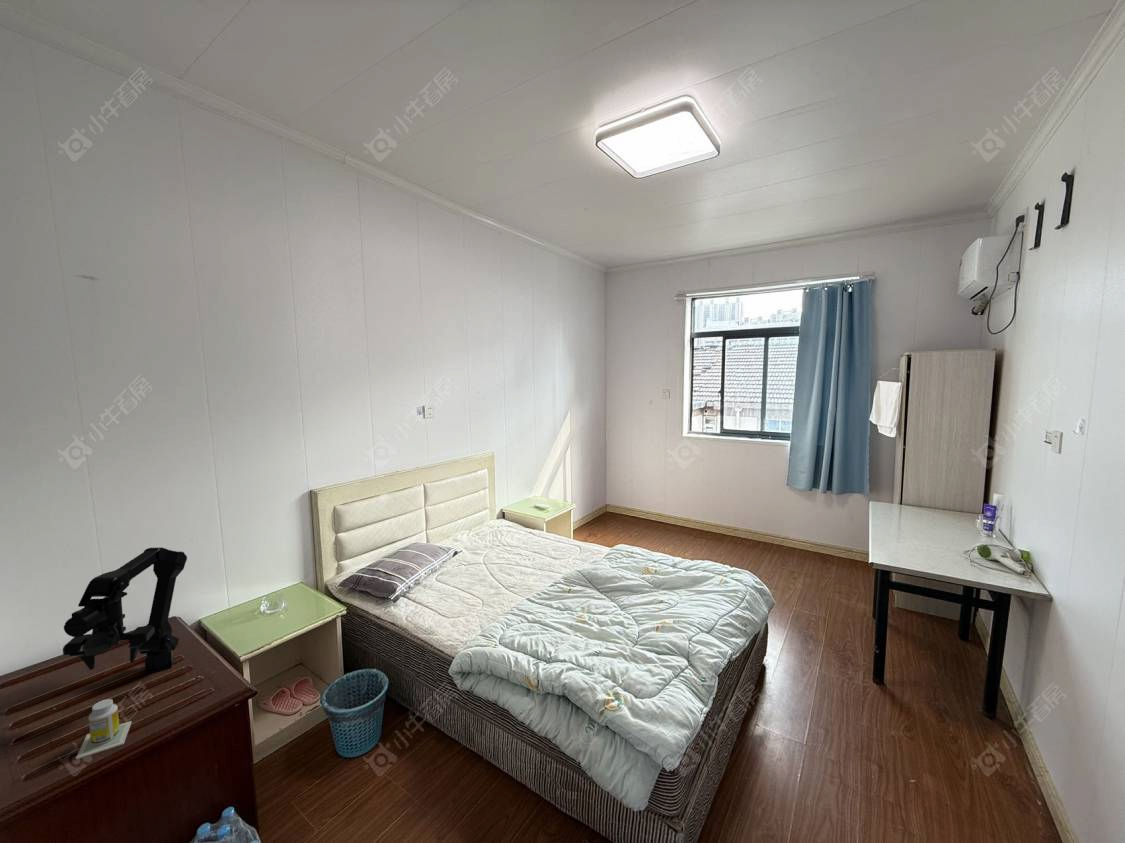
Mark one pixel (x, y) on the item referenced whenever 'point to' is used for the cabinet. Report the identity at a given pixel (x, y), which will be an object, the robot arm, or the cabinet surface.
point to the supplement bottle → (103, 722)
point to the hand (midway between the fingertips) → (112, 665)
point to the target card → (91, 749)
